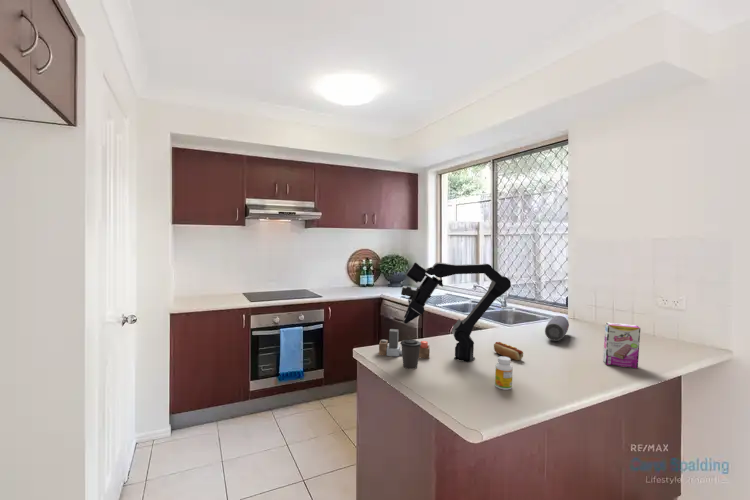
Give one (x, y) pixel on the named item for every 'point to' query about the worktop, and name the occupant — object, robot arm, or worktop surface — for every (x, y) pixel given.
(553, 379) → the worktop surface
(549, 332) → the bluetooth speaker
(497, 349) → the food
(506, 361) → the supplement bottle
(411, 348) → the coffee cup
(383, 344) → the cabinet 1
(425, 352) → the cabinet
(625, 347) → the candy bar box
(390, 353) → the plate
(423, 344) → the gauge button
